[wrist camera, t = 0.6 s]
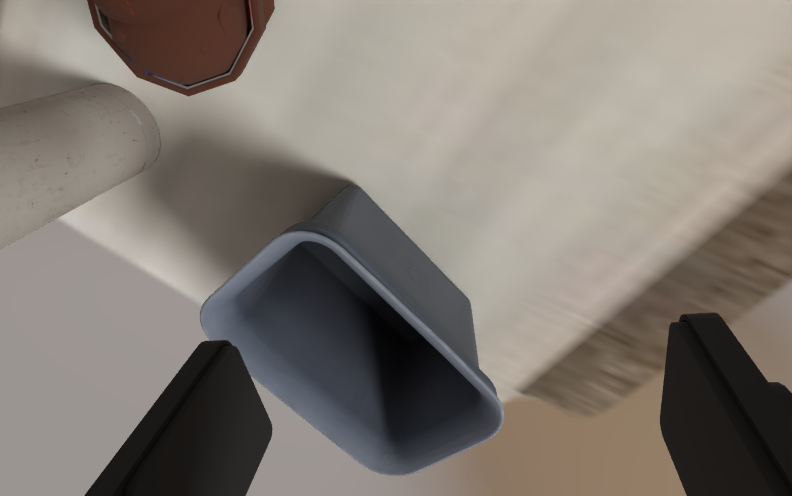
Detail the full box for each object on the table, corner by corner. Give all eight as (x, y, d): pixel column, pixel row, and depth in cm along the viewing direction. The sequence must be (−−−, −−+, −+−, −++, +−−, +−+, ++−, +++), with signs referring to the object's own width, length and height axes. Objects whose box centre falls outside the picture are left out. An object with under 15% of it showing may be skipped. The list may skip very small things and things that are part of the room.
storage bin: (511, 306, 45) (526, 426, 33) (395, 376, 52) (370, 498, 39) (357, 141, 40) (304, 210, 27) (248, 243, 46) (165, 336, 34)
